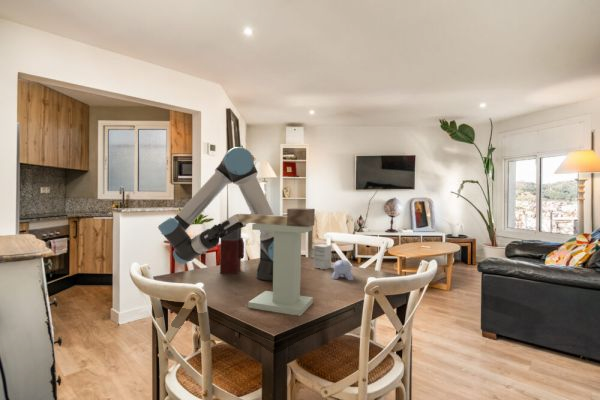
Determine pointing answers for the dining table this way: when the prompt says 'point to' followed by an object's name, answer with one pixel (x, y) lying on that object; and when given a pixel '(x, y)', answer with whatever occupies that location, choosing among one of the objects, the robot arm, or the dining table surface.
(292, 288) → the stand
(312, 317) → the dining table surface
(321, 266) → the supplement box
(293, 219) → the mallet
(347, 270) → the hippopotamus toy
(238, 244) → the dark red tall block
